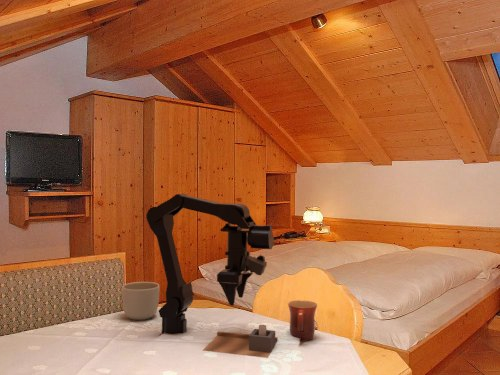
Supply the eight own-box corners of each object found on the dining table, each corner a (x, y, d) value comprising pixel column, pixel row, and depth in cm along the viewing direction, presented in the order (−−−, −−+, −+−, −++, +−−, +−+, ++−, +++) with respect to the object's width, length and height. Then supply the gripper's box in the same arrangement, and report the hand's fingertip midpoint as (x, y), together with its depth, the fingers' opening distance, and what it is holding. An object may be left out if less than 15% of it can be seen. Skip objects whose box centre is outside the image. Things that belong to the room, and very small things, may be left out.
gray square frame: (248, 350, 121) (248, 335, 121) (254, 342, 127) (254, 328, 127) (270, 352, 119) (270, 337, 119) (275, 345, 125) (275, 330, 125)
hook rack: (202, 354, 120) (202, 327, 120) (217, 338, 133) (218, 314, 133) (267, 362, 116) (268, 334, 116) (277, 345, 129) (277, 320, 128)
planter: (122, 313, 158) (122, 282, 158) (158, 311, 161) (158, 281, 161) (121, 324, 146) (121, 290, 146) (159, 321, 149) (160, 289, 149)
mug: (289, 332, 140) (289, 299, 140) (317, 334, 138) (318, 301, 138) (284, 345, 128) (284, 309, 128) (315, 348, 127) (315, 311, 127)
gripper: (256, 253, 119) (255, 312, 119) (271, 244, 137) (270, 295, 137) (216, 251, 122) (215, 308, 122) (236, 243, 140) (235, 293, 140)
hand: (236, 301), depth 130 cm, fingers open, 9 cm apart
